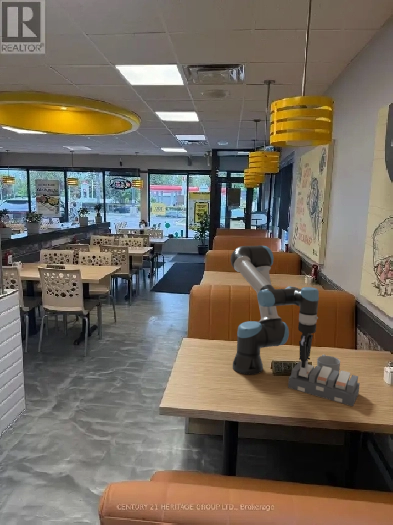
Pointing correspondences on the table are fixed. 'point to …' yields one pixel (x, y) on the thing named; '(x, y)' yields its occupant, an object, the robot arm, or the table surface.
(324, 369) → the block
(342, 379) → the rocker
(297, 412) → the table surface
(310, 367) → the rocker
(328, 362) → the teacup
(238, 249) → the robot arm
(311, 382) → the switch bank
